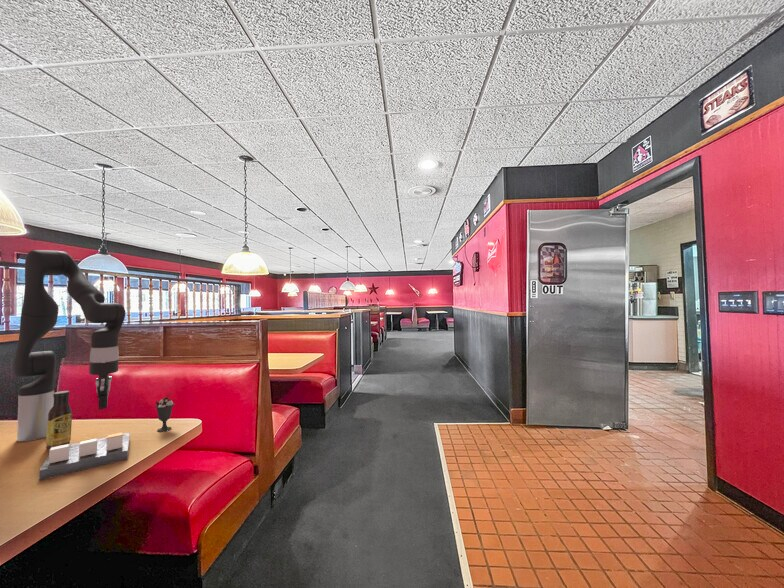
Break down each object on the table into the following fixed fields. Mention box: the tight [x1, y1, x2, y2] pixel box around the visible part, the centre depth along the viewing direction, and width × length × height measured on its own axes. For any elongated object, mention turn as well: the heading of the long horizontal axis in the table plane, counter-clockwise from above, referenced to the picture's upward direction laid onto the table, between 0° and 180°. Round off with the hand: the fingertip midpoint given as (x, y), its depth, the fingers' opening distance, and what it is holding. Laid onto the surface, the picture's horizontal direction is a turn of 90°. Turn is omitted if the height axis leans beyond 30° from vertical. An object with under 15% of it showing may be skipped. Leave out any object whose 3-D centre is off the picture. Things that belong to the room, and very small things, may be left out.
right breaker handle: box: [48, 443, 71, 463], centre depth 97 cm, size 2×4×4 cm, turn 128°
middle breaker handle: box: [79, 438, 98, 457], centre depth 102 cm, size 2×4×4 cm, turn 129°
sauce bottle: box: [45, 390, 73, 451], centre depth 113 cm, size 7×6×20 cm
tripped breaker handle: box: [106, 432, 124, 451], centre depth 106 cm, size 2×4×4 cm, turn 129°
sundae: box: [154, 394, 175, 433], centre depth 129 cm, size 7×7×15 cm
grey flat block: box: [38, 432, 131, 481], centre depth 105 cm, size 18×20×3 cm
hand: (102, 408), depth 109 cm, fingers closed
